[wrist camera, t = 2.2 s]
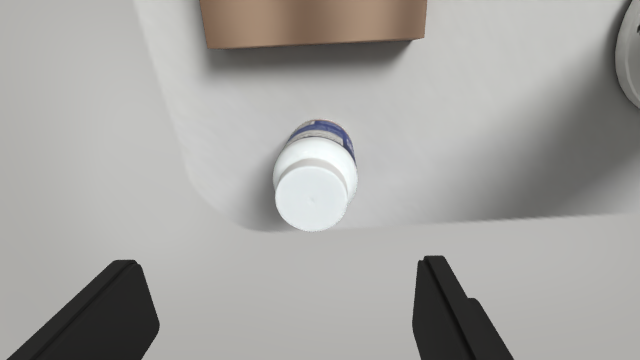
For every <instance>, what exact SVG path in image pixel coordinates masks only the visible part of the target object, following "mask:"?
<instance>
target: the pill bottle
mask: <svg viewBox="0 0 640 360" xmlns="http://www.w3.org/2000/svg"><path fill="white" fill-rule="evenodd" d="M357 183H358V174H357V167H356V162H355V156H354V150H353V145H352V142H351V139H350V137H349V135H348V133H347V132H346V130H345V129H344V128H343V127H342V126H340V125H339V124H337V123H336V122H334V121H331V120H327V119H313V120H309V121H307V122H305V123H303V124H302V125H300V126H299V127H298V128H297V129H296V130H295V131H294V133H293V134H292V135H291V137H290V139H289V140H288V142H287V144H286V145H285V147H284V149H283V150H282V152H281V154H280V155H279V157H278V158H277V161H276V164H275V167H274V171H273V185H274V189H275V203H276V207H277V210H278V212H279V213H280V215H281V217H282V218H283V219H284V220H285V221H286V222H287V223H288V224H290V225H291V226H293V227H295V228H297V229H300V230H303V231H309V232H316V231H322V230H325V229H328V228H330V227H332V226H334V225H335V224H336V223H337V222H339V220H340V219H341V218H342V216H343V215H344V213H345V211H346V208H347V206H348V205H349V203H350V202H351V200H352V199H353V197H354V195H355V192H356V189H357Z"/></svg>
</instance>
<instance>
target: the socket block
mask: <svg viewBox="0 0 640 360" xmlns="http://www.w3.org/2000/svg"><path fill="white" fill-rule="evenodd" d="M200 6H201V12H202V18H203V24H204V30H205V36H206V42H207V48H210V49H241V48H261V47H281V46H302V45H322V44H342V43H363V42H383V41H403V40H416V39H420V38H424V34H425V21H426V9H427V0H200Z"/></svg>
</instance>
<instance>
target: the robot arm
mask: <svg viewBox="0 0 640 360" xmlns="http://www.w3.org/2000/svg"><path fill="white" fill-rule="evenodd" d="M615 62H616V73H617V76H618V80H619V83H620V86H621V88H622V89H623V91H624V93H625V95H626V96H627V98H628V99H629V100H630V101H631V102H632V103H633V104H634V105H635V106H636V107H638V108H639V109H640V0H632V2H631V4H630V6H629V8H628V10H627V12H626V14H625V16H624V19H623V22H622V25H621V28H620V31H619V34H618V39H617V45H616V51H615ZM159 326H160V324H159V320H158V317H157V314H156V311H155V308H154V305H153V301H152V298H151V295H150V292H149V289H148V285H147V283H146V279H145V276H144V273H143V270H142V267H141V265H139V264H137V262H136V261H135V260H115V261H113V262H112V263H111V264H109V265H108V266H107V267H106V268H105V269H104V270H103V271H102V272H101V273H100V274H99V275H98V276H97V277H95V278H94V279H93V280H92V281H91V282H90V283H89V284H88V285H87V286H86V287H85V288H84V289H83V290H82V291H80V293H78V294H77V295H76V296H75V297H74V298H73V299H72V300H71V301H70V302H69V303H67V304H66V305H65V306H64V307H63V308H62V309H61V310H60V311H59V312H58V313H57V314H56V315H55V316H53V317H52V318H51V319H50V320H49V321H48V322H47V323H46V324H45V325H44V326H43V327H42V328H41V329H39V331H37V332H36V333H35V334H34V335H33V336H32V337H31V338H30V339H29V340H28V341H26V342H25V343H24V344H23V345H22V346H21V347H20V348H19V349H18V350H17V351H16V352H15V353H13V354H12V355H11V356H10V357H9V358H8V359H7V360H141V359H142V358H143V356H144V354H145V352H146V351H147V350H148V348H149V346H150V345H151V343H152V342H153V340H154V339H155V337H156V335H157V334H158V331H159ZM412 327H413V333H414V337H415V340H416V343H417V347H418V350H419V353H420V357H421V360H514V359H513V357H512V355H511V354H510V352H509V351H508V349H507V347H506V346H505V344H504V342H503V341H502V339H501V337H500V336H499V334H498V332H497V331H496V329H495V327H494V326H493V324H492V323H491V321H490V319H489V318H488V316H487V314H486V313H485V311H484V309H483V308H482V306H481V304H480V303H479V302H478V301H477V300H476V299H475V298H467V296H466V294H465V292H464V290H463V289H462V287H461V285H460V284H459V282H458V280H457V279H456V276H455V275H454V273H453V271H452V269H451V268H450V266H449V264H448V262H447V261H446V259H445V257H443V256H425V257H424V260H422V261H421V260H419V261H418V268H417V278H416V288H415V299H414V309H413V320H412Z"/></svg>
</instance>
